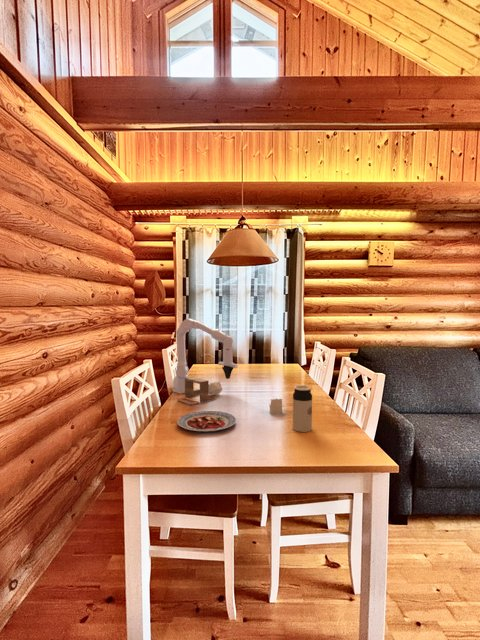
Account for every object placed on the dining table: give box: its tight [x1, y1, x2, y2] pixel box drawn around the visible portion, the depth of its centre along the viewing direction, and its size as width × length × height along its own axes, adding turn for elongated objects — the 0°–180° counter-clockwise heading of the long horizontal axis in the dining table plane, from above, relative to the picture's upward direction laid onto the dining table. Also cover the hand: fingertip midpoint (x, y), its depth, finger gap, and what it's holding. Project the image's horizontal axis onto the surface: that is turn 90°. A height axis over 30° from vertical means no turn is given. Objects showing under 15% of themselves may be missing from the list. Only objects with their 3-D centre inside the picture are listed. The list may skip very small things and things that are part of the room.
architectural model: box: [269, 397, 285, 415], centre depth 173 cm, size 3×7×7 cm, turn 99°
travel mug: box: [292, 384, 313, 433], centre depth 150 cm, size 8×8×18 cm
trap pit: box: [177, 396, 200, 407], centre depth 190 cm, size 12×5×1 cm, turn 44°
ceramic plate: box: [177, 410, 237, 432], centre depth 156 cm, size 26×26×3 cm
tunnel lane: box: [184, 376, 216, 404], centre depth 197 cm, size 15×10×11 cm, turn 44°
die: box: [209, 380, 223, 397], centre depth 205 cm, size 8×9×10 cm
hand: (227, 378), depth 212 cm, fingers closed
